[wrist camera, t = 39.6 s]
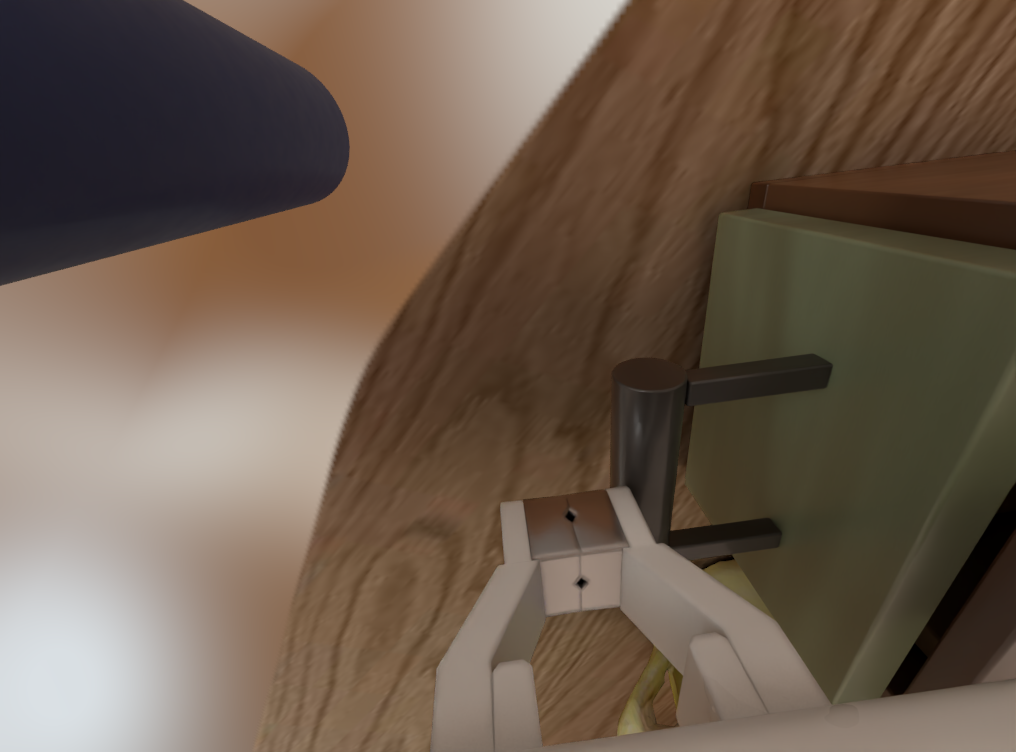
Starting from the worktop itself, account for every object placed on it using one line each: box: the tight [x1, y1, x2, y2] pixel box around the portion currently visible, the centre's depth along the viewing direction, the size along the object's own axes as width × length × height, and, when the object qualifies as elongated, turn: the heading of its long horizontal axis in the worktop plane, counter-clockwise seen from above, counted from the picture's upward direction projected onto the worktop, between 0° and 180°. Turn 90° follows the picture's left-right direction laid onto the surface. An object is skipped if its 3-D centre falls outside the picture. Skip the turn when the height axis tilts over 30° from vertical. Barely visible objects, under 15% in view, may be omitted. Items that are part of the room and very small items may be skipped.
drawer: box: [610, 208, 1016, 705], centre depth 11 cm, size 17×10×8 cm, turn 96°
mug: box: [617, 560, 775, 736], centre depth 19 cm, size 12×10×10 cm
